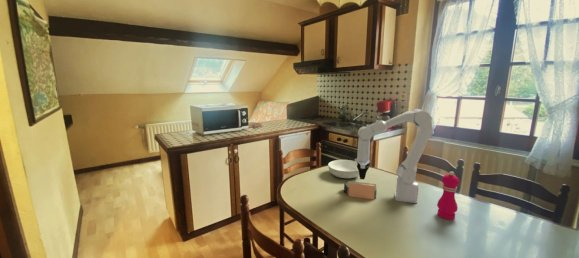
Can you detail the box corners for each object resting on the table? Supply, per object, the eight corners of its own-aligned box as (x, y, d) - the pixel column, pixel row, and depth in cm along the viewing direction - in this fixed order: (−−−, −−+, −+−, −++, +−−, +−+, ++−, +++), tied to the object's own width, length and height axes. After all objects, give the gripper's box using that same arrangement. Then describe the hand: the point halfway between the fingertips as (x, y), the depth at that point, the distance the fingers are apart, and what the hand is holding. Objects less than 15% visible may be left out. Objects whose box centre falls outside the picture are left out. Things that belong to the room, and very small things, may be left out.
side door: (373, 198, 117) (374, 185, 116) (373, 199, 117) (374, 186, 115) (348, 195, 121) (349, 182, 120) (348, 196, 120) (349, 183, 119)
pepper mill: (453, 213, 105) (459, 169, 101) (458, 221, 98) (465, 175, 94) (434, 210, 107) (439, 167, 103) (438, 218, 100) (444, 173, 97)
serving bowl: (327, 168, 159) (327, 159, 158) (359, 170, 156) (360, 160, 155) (328, 181, 139) (328, 170, 138) (365, 183, 136) (366, 171, 135)
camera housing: (375, 192, 125) (375, 183, 124) (375, 199, 117) (376, 189, 116) (344, 188, 129) (345, 179, 129) (343, 194, 122) (343, 185, 121)
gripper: (355, 147, 125) (354, 171, 128) (354, 154, 112) (353, 182, 114) (370, 148, 123) (368, 173, 126) (370, 156, 110) (368, 184, 112)
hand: (362, 177), depth 120 cm, fingers open, 3 cm apart
